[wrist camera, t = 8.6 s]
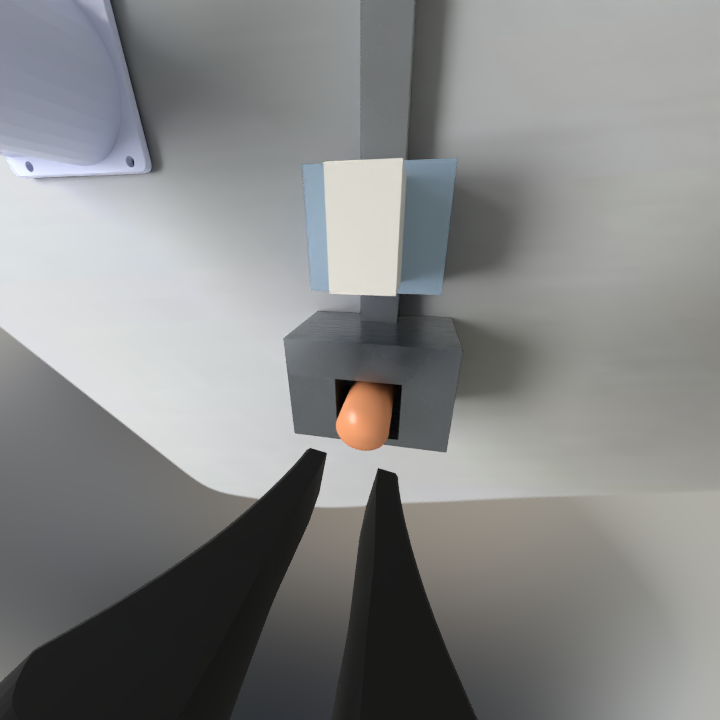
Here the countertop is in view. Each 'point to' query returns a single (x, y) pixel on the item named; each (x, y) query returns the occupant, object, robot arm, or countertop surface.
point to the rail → (385, 102)
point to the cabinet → (375, 373)
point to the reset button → (366, 415)
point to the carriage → (378, 225)
